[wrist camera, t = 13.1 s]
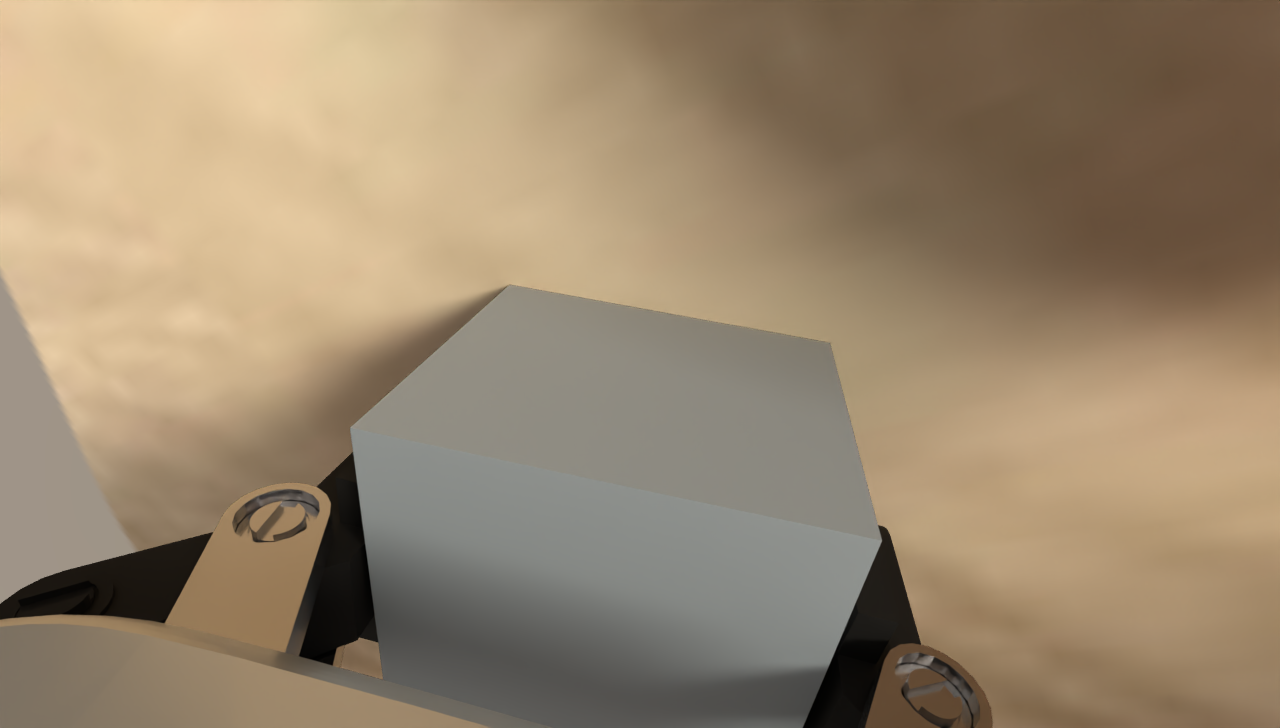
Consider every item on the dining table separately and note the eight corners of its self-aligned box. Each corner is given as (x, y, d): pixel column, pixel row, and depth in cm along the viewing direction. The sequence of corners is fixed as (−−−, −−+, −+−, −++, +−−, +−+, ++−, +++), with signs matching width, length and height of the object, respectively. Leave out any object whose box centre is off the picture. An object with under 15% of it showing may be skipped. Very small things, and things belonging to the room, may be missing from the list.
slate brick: (829, 342, 11) (882, 540, 6) (757, 578, 13) (758, 830, 9) (509, 284, 11) (350, 427, 7) (505, 523, 14) (390, 732, 10)
